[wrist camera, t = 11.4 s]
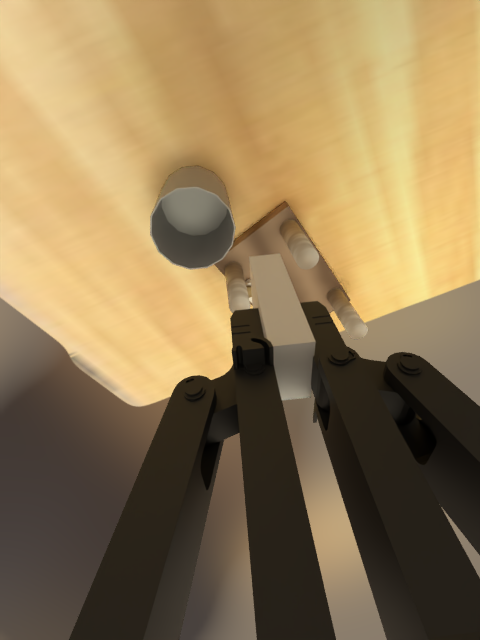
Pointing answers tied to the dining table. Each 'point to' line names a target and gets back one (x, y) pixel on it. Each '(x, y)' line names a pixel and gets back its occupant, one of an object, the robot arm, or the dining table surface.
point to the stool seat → (288, 267)
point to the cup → (193, 219)
